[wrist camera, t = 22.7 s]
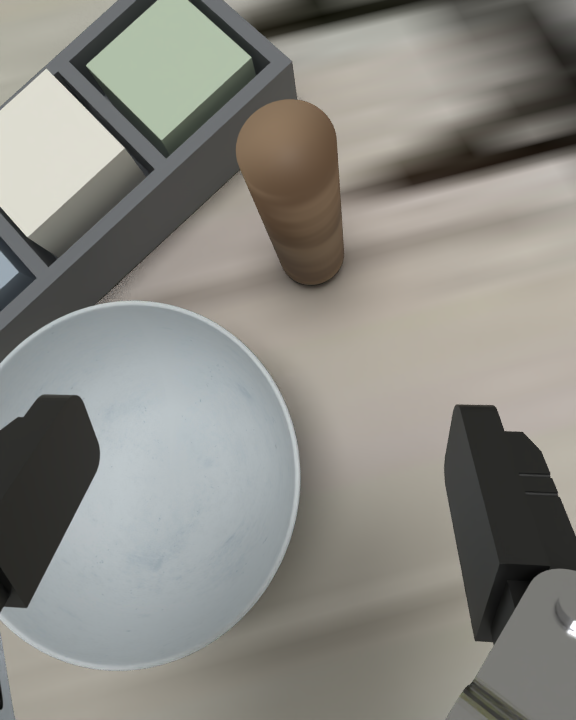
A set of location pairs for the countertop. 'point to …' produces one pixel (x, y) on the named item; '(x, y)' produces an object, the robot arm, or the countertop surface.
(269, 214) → the walnut stylus
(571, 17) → the countertop surface
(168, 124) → the sage key
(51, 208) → the ivory key
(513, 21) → the countertop surface
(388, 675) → the countertop surface
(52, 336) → the chinaware
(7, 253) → the slate key
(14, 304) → the keypad
